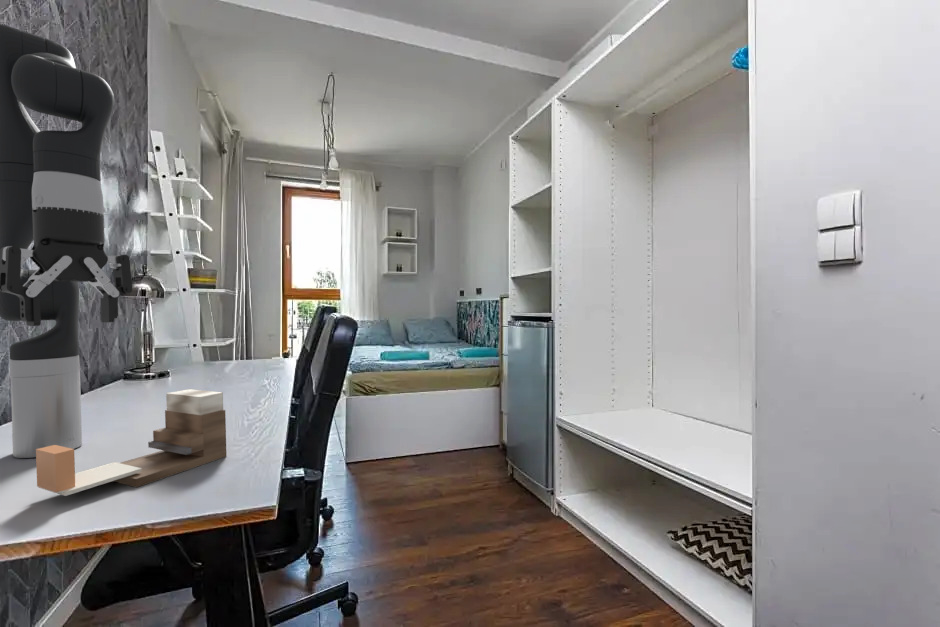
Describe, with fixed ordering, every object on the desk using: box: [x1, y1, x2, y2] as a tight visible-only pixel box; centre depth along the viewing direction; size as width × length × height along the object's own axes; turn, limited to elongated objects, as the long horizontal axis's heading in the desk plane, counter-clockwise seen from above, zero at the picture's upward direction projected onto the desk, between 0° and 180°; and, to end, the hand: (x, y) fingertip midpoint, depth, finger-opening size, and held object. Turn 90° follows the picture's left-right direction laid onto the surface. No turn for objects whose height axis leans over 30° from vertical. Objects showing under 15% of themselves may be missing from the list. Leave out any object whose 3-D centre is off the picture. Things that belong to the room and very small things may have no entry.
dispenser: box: [113, 388, 228, 488], centre depth 71 cm, size 10×14×11 cm
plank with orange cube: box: [35, 445, 142, 497], centre depth 62 cm, size 7×10×6 cm
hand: (72, 323), depth 63 cm, fingers open, 8 cm apart
